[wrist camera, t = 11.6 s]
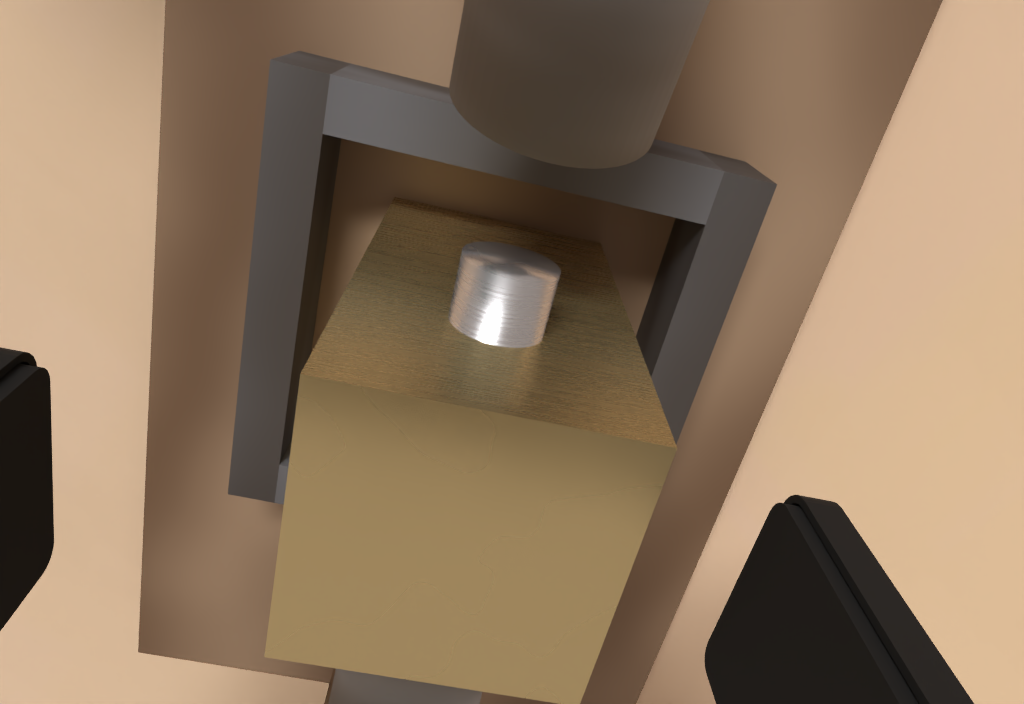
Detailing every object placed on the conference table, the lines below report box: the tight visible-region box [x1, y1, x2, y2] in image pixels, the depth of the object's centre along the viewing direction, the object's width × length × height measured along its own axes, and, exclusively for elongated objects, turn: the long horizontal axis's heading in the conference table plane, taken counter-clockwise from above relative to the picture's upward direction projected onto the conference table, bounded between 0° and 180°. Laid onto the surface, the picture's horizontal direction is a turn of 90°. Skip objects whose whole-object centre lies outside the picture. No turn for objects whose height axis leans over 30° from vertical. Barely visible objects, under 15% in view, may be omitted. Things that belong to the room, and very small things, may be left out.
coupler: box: [264, 197, 677, 704], centre depth 13 cm, size 6×4×8 cm
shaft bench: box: [138, 0, 942, 704], centre depth 14 cm, size 14×24×10 cm, turn 167°
